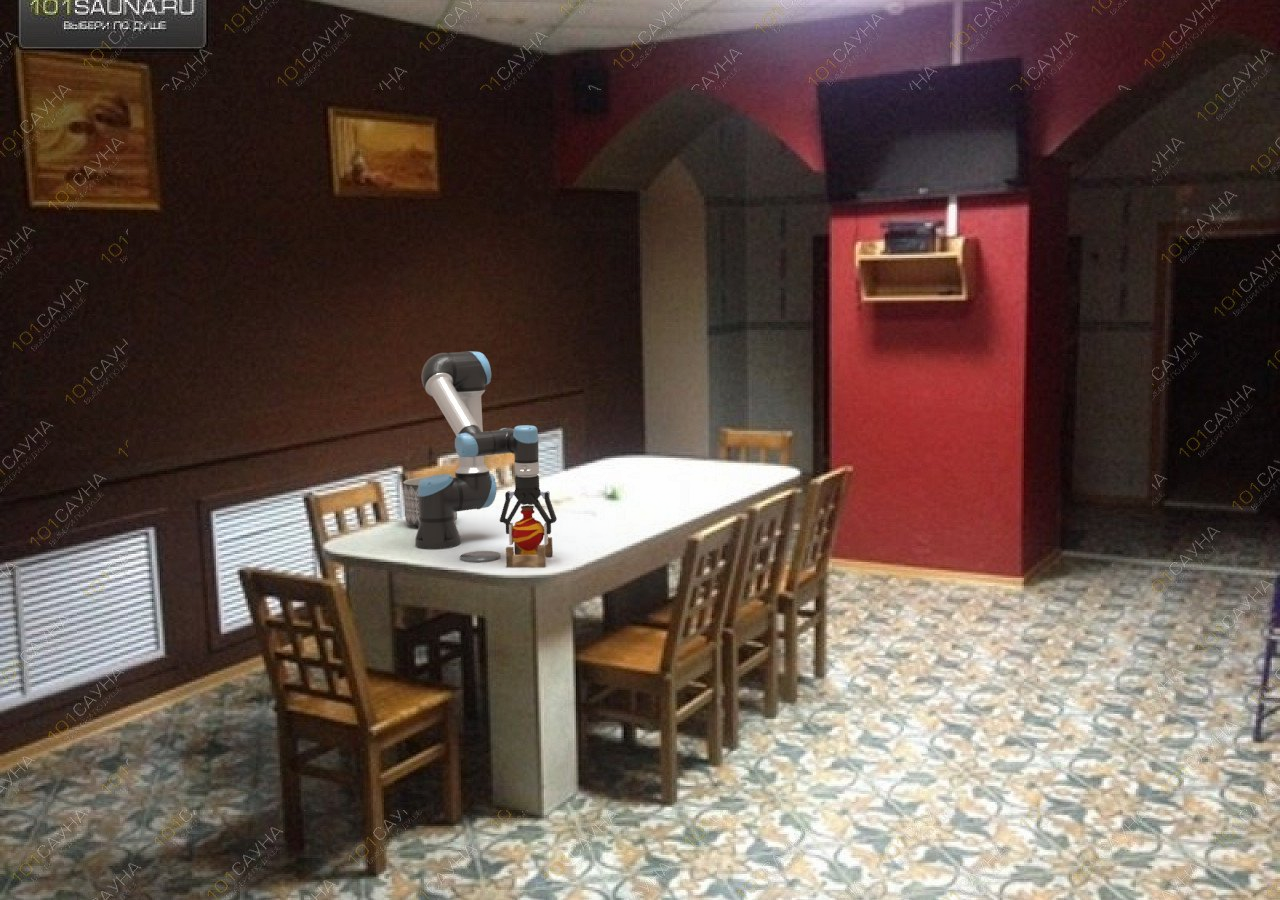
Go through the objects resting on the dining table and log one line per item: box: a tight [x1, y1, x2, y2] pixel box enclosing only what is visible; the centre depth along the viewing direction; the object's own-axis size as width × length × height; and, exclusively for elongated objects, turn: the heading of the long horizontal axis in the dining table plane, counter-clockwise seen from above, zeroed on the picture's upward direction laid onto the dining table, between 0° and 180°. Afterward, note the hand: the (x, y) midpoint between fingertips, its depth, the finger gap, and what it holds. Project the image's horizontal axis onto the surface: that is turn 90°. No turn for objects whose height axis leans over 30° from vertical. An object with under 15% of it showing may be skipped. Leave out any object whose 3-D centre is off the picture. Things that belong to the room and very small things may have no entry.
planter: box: [402, 476, 458, 527], centre depth 430 cm, size 19×19×16 cm
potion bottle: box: [512, 504, 544, 555], centre depth 368 cm, size 10×10×15 cm
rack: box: [505, 536, 554, 568], centre depth 369 cm, size 12×16×6 cm
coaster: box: [459, 550, 502, 563], centre depth 375 cm, size 13×13×1 cm
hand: (528, 544), depth 369 cm, fingers closed on potion bottle, 10 cm apart
